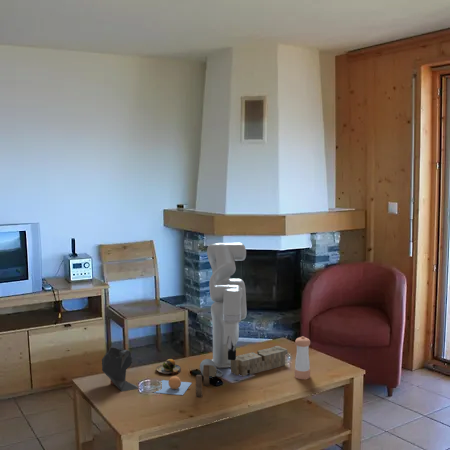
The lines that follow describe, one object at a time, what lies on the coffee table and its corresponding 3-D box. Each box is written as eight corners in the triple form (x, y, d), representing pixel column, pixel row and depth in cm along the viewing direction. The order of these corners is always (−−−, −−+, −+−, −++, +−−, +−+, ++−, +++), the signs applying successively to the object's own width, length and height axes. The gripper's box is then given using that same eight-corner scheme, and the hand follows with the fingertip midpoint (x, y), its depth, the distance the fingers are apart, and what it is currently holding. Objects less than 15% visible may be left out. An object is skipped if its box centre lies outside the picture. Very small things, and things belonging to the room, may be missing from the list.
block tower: (240, 379, 261) (288, 365, 277) (239, 362, 260) (287, 348, 276) (230, 374, 267) (277, 360, 283) (230, 357, 266) (277, 344, 282)
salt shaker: (305, 372, 266) (305, 333, 264) (313, 378, 259) (313, 337, 257) (291, 374, 263) (292, 335, 261) (299, 380, 257) (299, 339, 255)
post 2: (204, 383, 253) (204, 364, 252) (209, 384, 252) (209, 364, 251) (202, 385, 250) (202, 366, 249) (208, 386, 250) (208, 366, 249)
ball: (177, 372, 249) (184, 382, 249) (168, 379, 250) (175, 389, 249) (174, 375, 244) (181, 386, 243) (164, 382, 245) (171, 393, 244)
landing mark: (162, 380, 256) (162, 380, 256) (191, 383, 253) (191, 382, 253) (151, 392, 243) (151, 392, 243) (182, 395, 240) (182, 394, 240)
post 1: (196, 394, 240) (196, 374, 239) (202, 395, 240) (202, 374, 239) (195, 397, 238) (195, 376, 237) (201, 397, 237) (201, 377, 236)
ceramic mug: (202, 380, 256) (202, 364, 256) (199, 374, 264) (199, 359, 263) (224, 379, 259) (224, 363, 258) (220, 372, 266) (220, 357, 266)
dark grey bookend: (129, 376, 261) (129, 339, 259) (139, 388, 247) (138, 348, 245) (99, 381, 255) (98, 343, 253) (107, 393, 241) (106, 353, 239)
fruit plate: (154, 368, 272) (153, 353, 271) (177, 366, 276) (177, 351, 275) (159, 377, 261) (158, 362, 260) (183, 374, 264) (183, 359, 264)
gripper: (227, 312, 247) (227, 353, 249) (219, 321, 232) (219, 364, 234) (243, 313, 245) (243, 354, 247) (237, 322, 230) (237, 366, 232)
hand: (231, 359), depth 241 cm, fingers closed
